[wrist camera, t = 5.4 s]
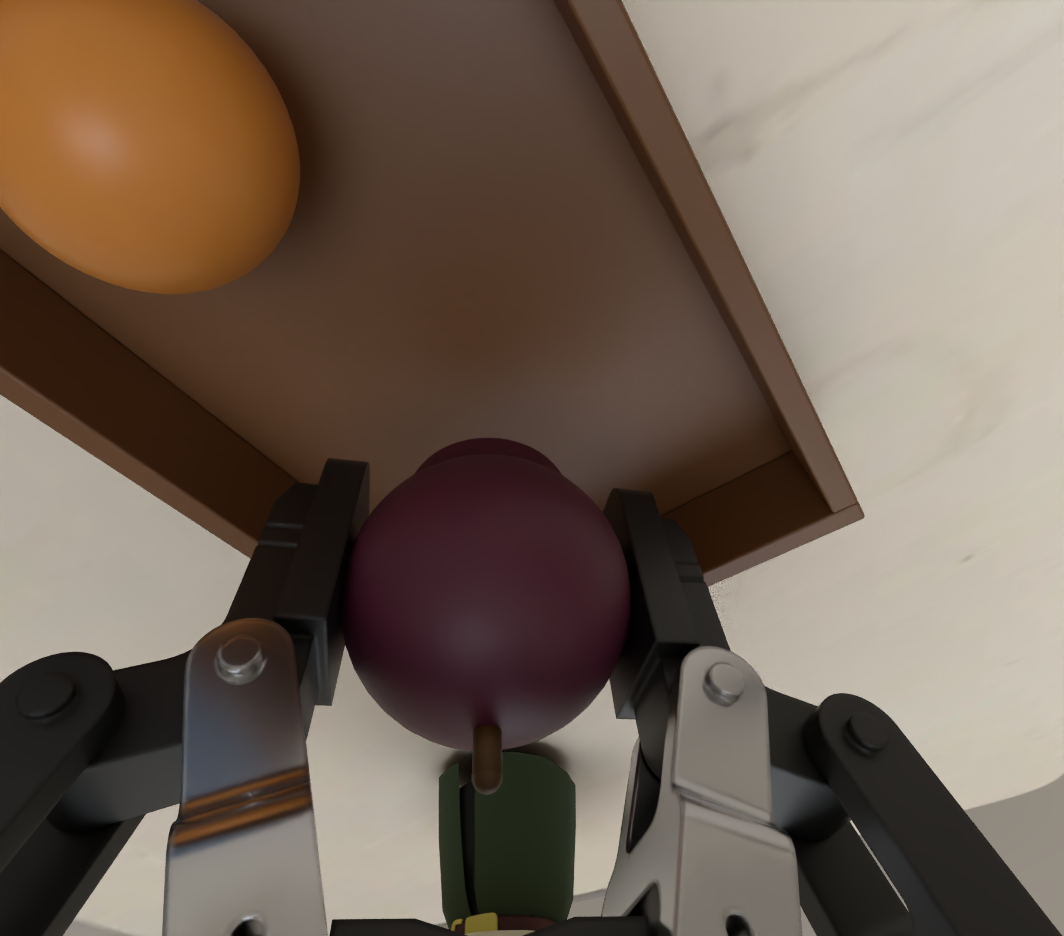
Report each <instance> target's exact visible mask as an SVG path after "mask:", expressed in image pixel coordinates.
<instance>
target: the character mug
mask: <svg viewBox="0 0 1064 936" xmlns="http://www.w3.org/2000/svg"><path fill="white" fill-rule="evenodd" d="M575 831H576V798H575V784H574V782H573V781H572V779H571V778H570V777H569V775H568V774H567V772H566V771H564V770H563V769H561V768H560V767H558V766H557V765H555V764H554V763H553V762H551V761H550V760H548V759H547V758H545V757H544V756H537V755H531V754H524V753H518V752H505V753H502V783H501V785H500V787H499V788H498V790H497V791H495V792H494V793H492V794H488V795H485V794H481V793H479V792H478V791H477V790H476V789H475V787H474V786H473V783H472V781H471V782H469V783H467V784H466V785H464V786H462V787H461V788H459V763H458V764H455V765H452V766H451V767H450V768H449V769H448V770H447V771H446V772H444V773H443V774H442V775H441V776H440V777H439V851H440V869H441V888H442V908H443V913H444V916H445V919H446V922H447V925H448V928H449V930H452V931H455V932H458V933H461V934H464V935H468V936H523V935H526V934H528V933H531V932H534V931H537V930H540V929H542V928H545V927H548V926H551V925H554V924H556V923H559V922H562V921H565V920H567V917H568V914H569V911H570V908H571V904H572V901H573V886H574V857H575Z"/></svg>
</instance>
